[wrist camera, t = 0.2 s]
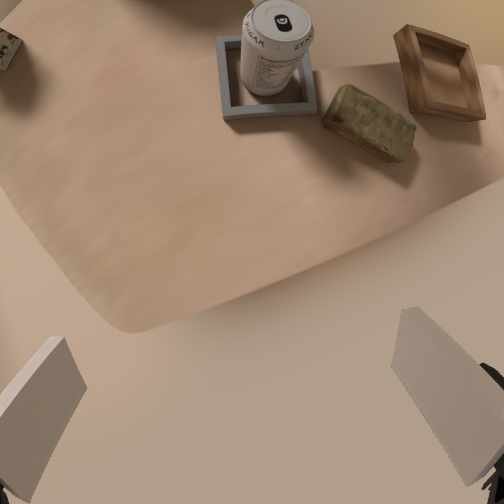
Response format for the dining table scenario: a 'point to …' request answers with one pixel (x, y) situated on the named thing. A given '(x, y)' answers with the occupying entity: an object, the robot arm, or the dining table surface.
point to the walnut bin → (439, 75)
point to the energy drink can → (273, 44)
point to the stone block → (370, 124)
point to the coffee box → (7, 48)
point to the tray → (264, 109)
